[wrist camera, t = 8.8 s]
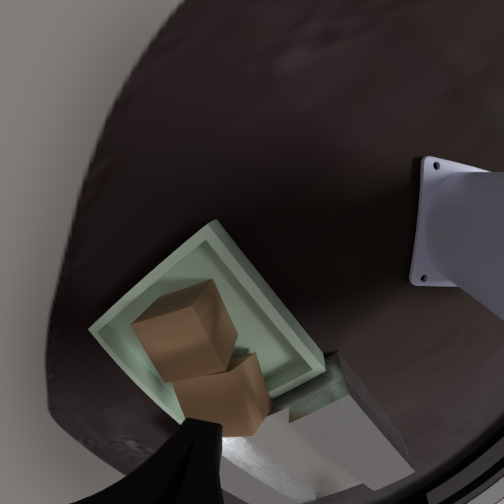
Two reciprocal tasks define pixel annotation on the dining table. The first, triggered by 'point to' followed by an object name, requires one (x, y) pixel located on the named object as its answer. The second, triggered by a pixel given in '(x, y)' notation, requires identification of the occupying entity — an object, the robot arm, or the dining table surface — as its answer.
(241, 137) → the dining table surface
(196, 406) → the chip
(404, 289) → the dining table surface
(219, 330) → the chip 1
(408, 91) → the dining table surface
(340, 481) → the slot block
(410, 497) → the game console
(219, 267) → the tray
